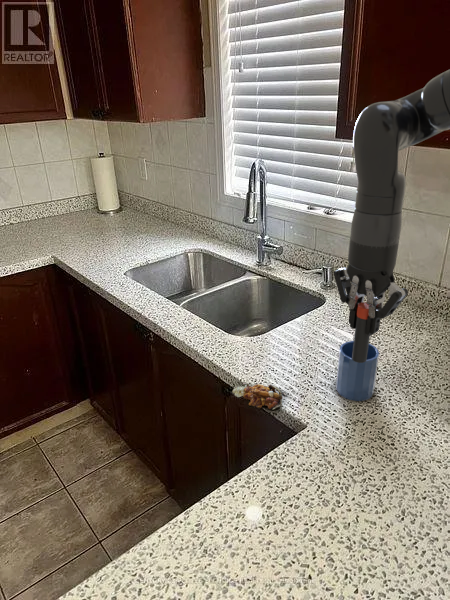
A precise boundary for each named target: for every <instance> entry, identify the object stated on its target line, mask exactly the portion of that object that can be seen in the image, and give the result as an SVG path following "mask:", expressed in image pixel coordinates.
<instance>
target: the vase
mask: <svg viewBox="0 0 450 600" xmlns="http://www.w3.org/2000/svg"><path fill="white" fill-rule="evenodd" d="M353 344H354V340H349V341H346V342H344V343H341V345H340V346H339V348H338V349H339V351H338V362H337V372H336V381H335V389H336V391H337V393H338V394H339V396H340V397H342V398H344V399H346V400H350V401H354V402H363V401H367V400H370V399H371V398H372V397H373V396H374V392H375V387H376V378H377V371H378V366H379V365H378V363H379V357H380V352H379V349H378V348H377V347H376V346H375V345H373V344H372V343H369V346H368V353H367V360H366V362H364V363H358V362H355V361H353V360H352V352H353Z"/></svg>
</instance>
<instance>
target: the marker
mask: <svg viewBox="0 0 450 600" xmlns="http://www.w3.org/2000/svg"><path fill="white" fill-rule="evenodd" d="M368 316H369V306H368V305H367V301H363V302H362V303H359V304H358V308H357V319H356V327H355V329H354V337H353V341H354V344H353V352H352V360H353V361H355V362H358V363H364V362H366V360H367V353H368V346H369V344H370V339H371V338H370V337H371V336H368V335H366V334H365V333H366V325H367V318H368Z"/></svg>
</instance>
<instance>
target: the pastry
mask: <svg viewBox="0 0 450 600" xmlns="http://www.w3.org/2000/svg"><path fill="white" fill-rule="evenodd" d="M231 392H232V394H234V396H235V397H237V398H241V397H243V398H244V399H246V400H249V402H248V406H253V407H255V408H260V409H262V407H263V406H267V408H268V409H269V410H275V409H277V408H280V406H281V405H283V397H286V396H287V394H286V393H285V392H284V390H283V389H282V388H279V387H277V386H275V385H274V384H267V386H265V385H263V384H254V385H253V386H251V385H250V384H249V383H245V382H243V383H242V385H240V384H238V385H237V386H235V387H234V388H233V389H232V391H231Z"/></svg>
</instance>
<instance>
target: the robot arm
mask: <svg viewBox="0 0 450 600" xmlns="http://www.w3.org/2000/svg"><path fill="white" fill-rule="evenodd" d="M448 130H450V68H449V69H448V70H446V71H444V72H442V73H440V74H437V75H436V76H435V77H433V78H432V79H430V80H429V81H428V82H427V83H426V84H425V86H424V87H423V88H420V89H418V90H416V91H414V92H411V93H410V94H408V95H406V96H403V97H400V98H398V99H394V100H387V101H378V102H374V103H371V104H370V105H368V106H367V107H365V108H364V109H363V110H362V111H361V113H360V114H359V116H358V118H357V120H356V122H355V126H354V130H353V137H352V147H353V157H354V166H355V173H356V178H357V187H356V193H355V201H354V202H355V203H354V211H353V216H352V218H351V219H352V220H351V227H350V234H349V235H350V237H349V243H348V244H349V246H348V256H347V262H348V265H347V267H346V266H343V267H340V268H339V269H336V270H334V271H333V277H334V281H335V284H336V288H337V292H338V296H339V298H340V299H339V300H340V301H341V303H344V304H345V303H346V304H347V306H348V309H349V315H348V324H349V328H351V329H353V330H355V327H356V319H357V308H358V304H359V303H362V302H364V299H365V297H366V302H367V305H368V306H369V316H368V318H367V325H366V333H365V334H366V335H368V336H370V337H371V336H373V335H375V334H376V333H378V332H379V330H380V325H381V319H386V318H387V317H389V316H391V315H393V314H394V313H395V311H396V310H397V308H398V307H399V306H400V305H401V303H402V302H403V301H404V299H406V297H407V296H408V295H409V290H408V288H406V287H403V288H401V287H400V286H399V285H398V284H397V283H395V281H396V280H395V276H394V271H395V267H396V263H397V258H398V251H399V246H400V238H401V231H402V223H403V221H402V220H403V219H402V216H403V215H402V214H403V207H404V206H403V205H404V202H405V194H406V185H407V184H406V183H407V182H406V181H407V180H406V176H405V174H404V173H403V172H402V171H401V170H399V151H402V150H405V149H407V148H410V147H413V146H415V145H417V144H419V143H422V142H423V141H425V140H426V141H427V140H428V139H430V138H432V137H434V136H437V135H438V134H440V133H442V132H444V131H448ZM387 291H388V295H387V297H388V300H386V292H387ZM385 301H386V302H385ZM384 302H385V304H384Z"/></svg>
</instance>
